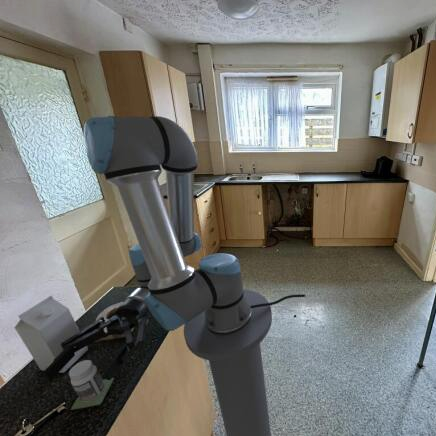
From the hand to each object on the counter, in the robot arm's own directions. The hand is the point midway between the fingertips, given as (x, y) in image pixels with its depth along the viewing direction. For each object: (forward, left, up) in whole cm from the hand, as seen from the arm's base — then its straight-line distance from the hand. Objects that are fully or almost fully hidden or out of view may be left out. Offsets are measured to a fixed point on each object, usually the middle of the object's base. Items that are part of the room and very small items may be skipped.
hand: (76, 376), depth 52 cm
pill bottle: (0, -2, -8) cm, 8 cm away
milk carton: (+14, -13, -9) cm, 21 cm away
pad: (0, -2, -8) cm, 9 cm away
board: (+6, -26, -8) cm, 28 cm away
